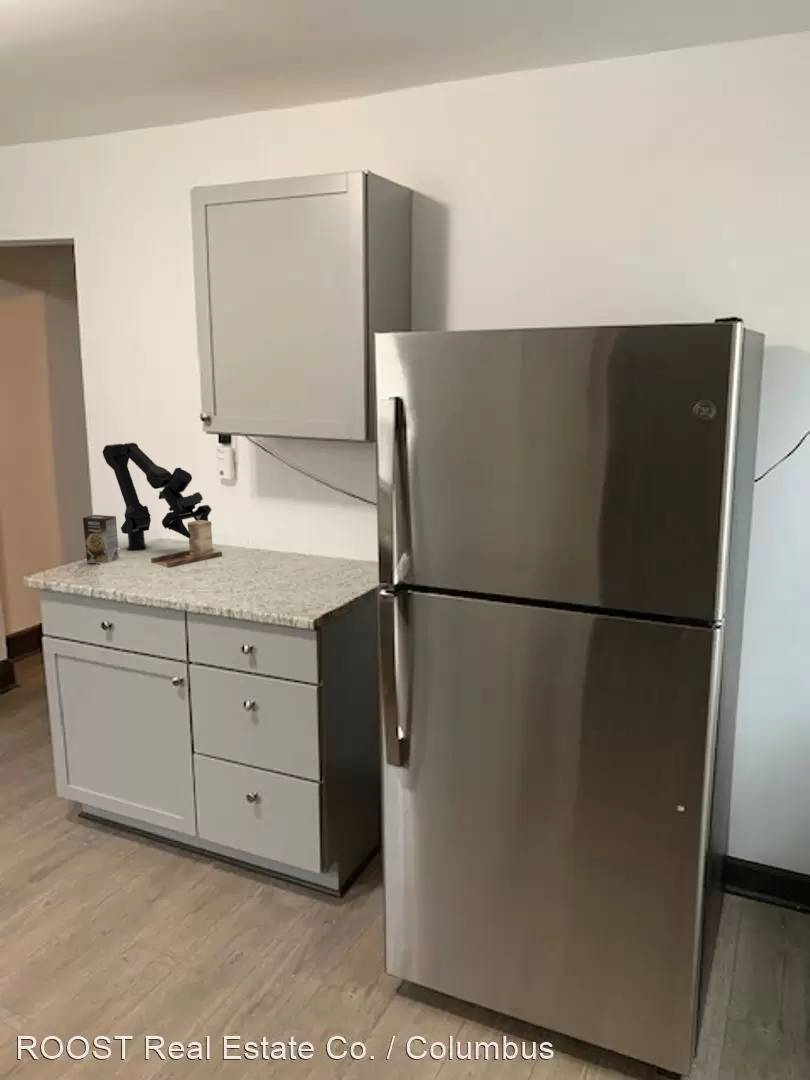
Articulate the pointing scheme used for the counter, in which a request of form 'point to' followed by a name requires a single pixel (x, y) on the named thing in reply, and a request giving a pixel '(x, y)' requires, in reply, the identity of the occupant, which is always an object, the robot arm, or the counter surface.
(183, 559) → the bay
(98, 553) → the coffee box
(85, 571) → the counter surface
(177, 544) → the counter surface
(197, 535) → the stack of paper
